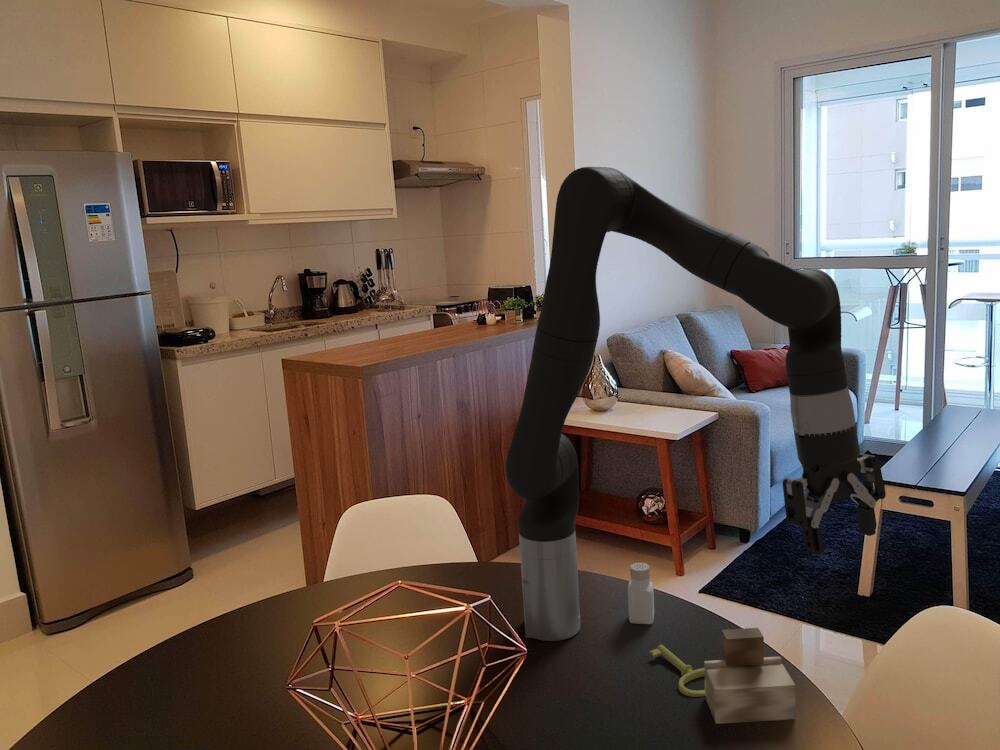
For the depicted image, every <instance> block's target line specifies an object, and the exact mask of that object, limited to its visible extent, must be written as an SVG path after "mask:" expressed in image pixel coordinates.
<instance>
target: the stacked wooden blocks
mask: <svg viewBox="0 0 1000 750" xmlns="http://www.w3.org/2000/svg"><path fill="white" fill-rule="evenodd" d="M764 638H765V637H764V635H763V633H762V631H761V630H760V628H759V627H748V628H734V629H733V628H730V629H721V656H722V659H717V660H716V659H715V660H713V659H712V660H703V661H704V662H703V663H704V664H703V666H704V667H703V668H704V672H705V676H704V690H705V696H704V697H705V698H707V696H706V668H722V667H739V666H755V665H771V664H783V663H782V656H780V655H779V656H764V655H765V650H764V649H765V645H764V643H765V642H764V641H765V640H764Z"/></svg>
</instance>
